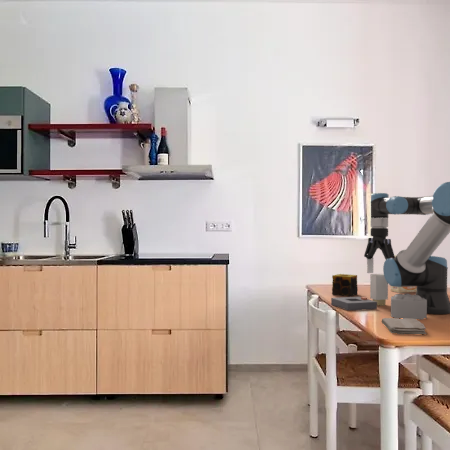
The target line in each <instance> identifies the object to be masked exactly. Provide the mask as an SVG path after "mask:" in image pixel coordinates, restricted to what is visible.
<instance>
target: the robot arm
mask: <svg viewBox="0 0 450 450" xmlns="http://www.w3.org/2000/svg"><path fill="white" fill-rule="evenodd" d="M370 198H371V200H370V227H371V228H370V236H371V237H368V240H367V245H366V247H365V251H364V255H363V256H364V258H366V265H367V266H366V267H367V270H366V271H367V272H366V273H367V274H374V256H375V254H376V252H377V250H378V249H379V250H380V251H381V253H382V255H383V258H384V259H385V260H384V262H383V263H384V264H383V265H382V266H383V267H382V268H383V270H382V271H383V274H384V277H385V279H386V281H387V283H388V286H390V287H391V286H393V287H408V286H417V291H416V292H415V295H419V296H420V297H421V298H424V299H426V300H427V314H432V315H446V314H447V315H449V314H450V298H449V295H448V268H449V267H448V260H447V259H446V258H445V257H441V256H435V255H433V254H434V252H436V250H437V248H439V246H440V245H441V244H442V243H443V241H444V240H445V239H446V238H447V237H448V235H449V234H450V181H446V182H443V183H441V184H440V185H439V186H437V187H436V189H435V190H434V192H433V194H432V195H427V196H419V197H418V196H416V197H415V196H413V197H411V196H399V195H398V196H397V195H395V196H389V194H388V193H387V192H384V193H383V192H376V193H371V197H370ZM389 215H419V216H420V215H422V216H426V215H427V216H428V215H430V217H428V219H427V220H426V222H425V224H424V225H423V226H422V228H421V229H420V230H419V231H418V232H417V233H416V235H415V237H414V238H413V239H412V240H411V242H410V243H409V244H408V246H407V248H405V249H401V250H400V251H399V252H398V253H397V254H396V255H397V256H396V257H395V256H394V255H395V252H394V250H393V246H392V241H391V240H392V239H391V238H387V237H389V228H388V227H389Z"/></svg>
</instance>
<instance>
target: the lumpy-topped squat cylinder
mask: <svg viewBox="0 0 450 450" xmlns="http://www.w3.org/2000/svg"><path fill="white" fill-rule="evenodd" d="M427 314H428V313H427V300H426V299H424V298H421V297H420V296H419V295H416V294H410V293H409V292H405V293H395V294H394V295H391V297H390V316H391V317H390V318H393V317H394V318H396V319H399V318H403V319H404V318H413V319H419V320H425V319H424V318H426V319H427V318H428V316H427Z"/></svg>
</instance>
